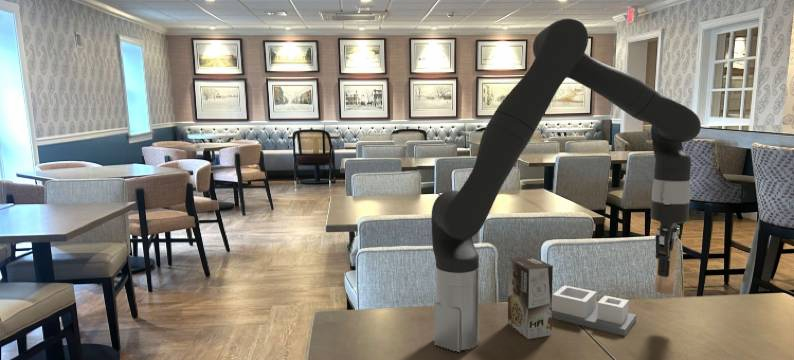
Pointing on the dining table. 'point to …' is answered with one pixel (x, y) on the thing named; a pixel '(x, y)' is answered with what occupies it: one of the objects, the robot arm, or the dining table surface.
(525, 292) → the coffee box
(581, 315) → the socket plate
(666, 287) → the copper pipe
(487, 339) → the dining table surface
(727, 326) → the dining table surface
